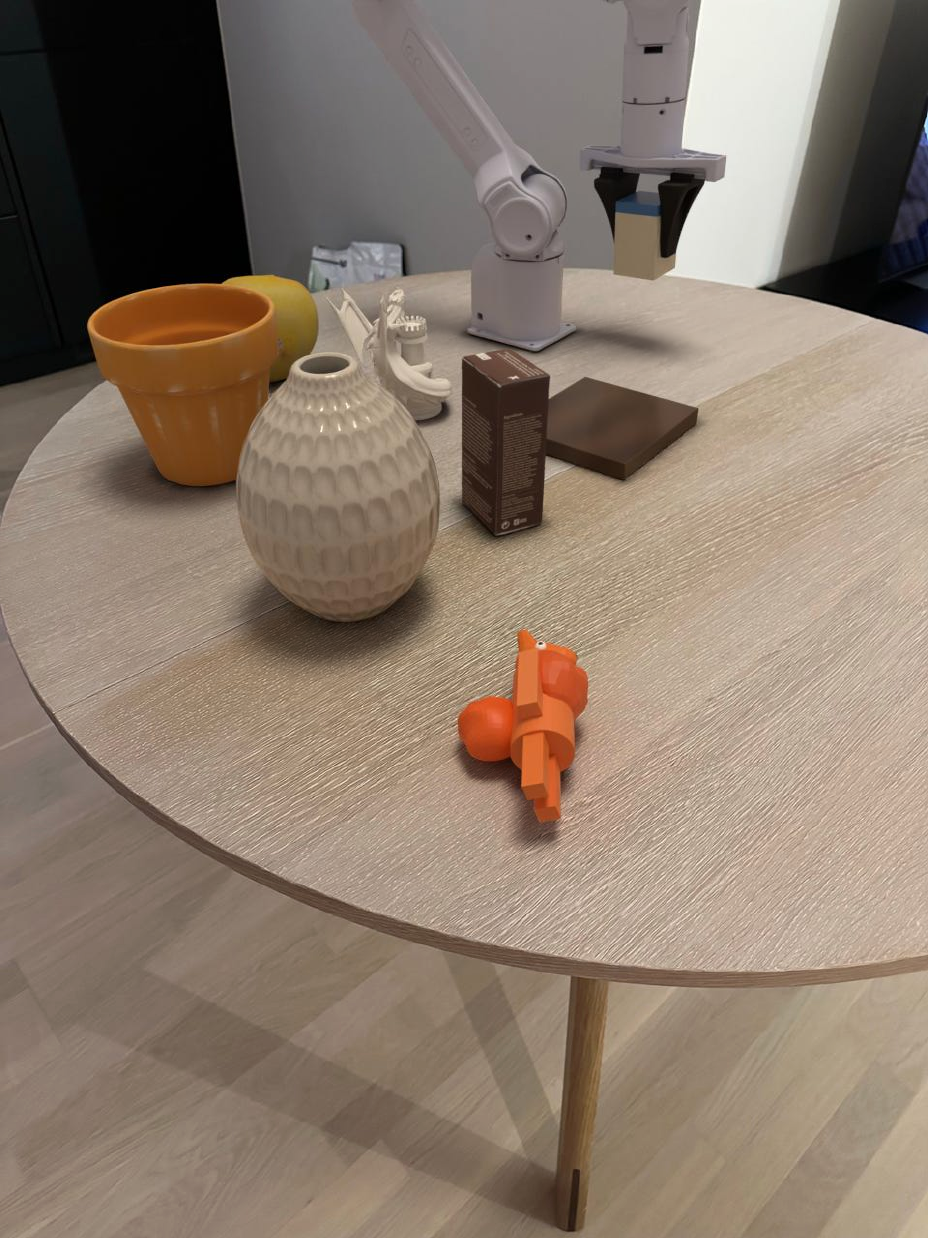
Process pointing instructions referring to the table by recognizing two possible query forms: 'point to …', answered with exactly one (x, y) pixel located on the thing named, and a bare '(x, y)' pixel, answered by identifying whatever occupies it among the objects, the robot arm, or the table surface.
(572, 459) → the board
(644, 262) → the carton
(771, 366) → the table surface
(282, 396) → the vase
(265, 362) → the flower pot
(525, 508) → the box
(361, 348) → the figurine
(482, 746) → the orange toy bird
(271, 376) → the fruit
